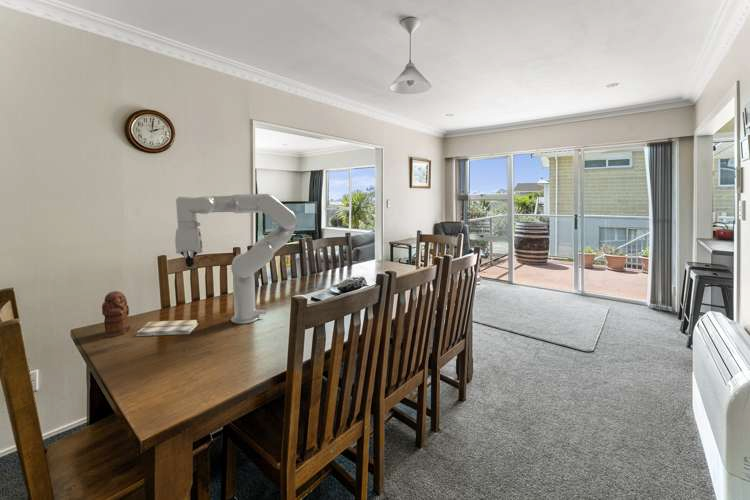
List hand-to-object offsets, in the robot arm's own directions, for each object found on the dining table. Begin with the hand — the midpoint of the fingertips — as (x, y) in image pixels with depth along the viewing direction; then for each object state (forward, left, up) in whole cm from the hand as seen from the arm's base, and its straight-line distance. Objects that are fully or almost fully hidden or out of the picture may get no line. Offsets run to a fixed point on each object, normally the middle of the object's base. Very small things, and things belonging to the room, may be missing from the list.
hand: (190, 266), depth 161 cm
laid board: (+11, +6, -27) cm, 30 cm away
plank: (+9, 0, -27) cm, 28 cm away
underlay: (+10, +3, -27) cm, 29 cm away
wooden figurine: (+29, -1, -27) cm, 40 cm away
